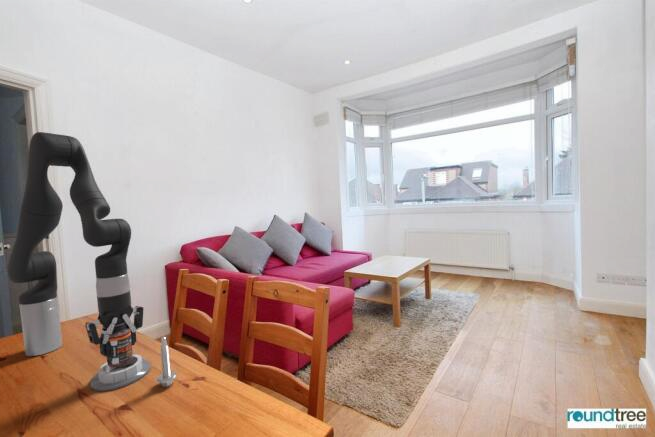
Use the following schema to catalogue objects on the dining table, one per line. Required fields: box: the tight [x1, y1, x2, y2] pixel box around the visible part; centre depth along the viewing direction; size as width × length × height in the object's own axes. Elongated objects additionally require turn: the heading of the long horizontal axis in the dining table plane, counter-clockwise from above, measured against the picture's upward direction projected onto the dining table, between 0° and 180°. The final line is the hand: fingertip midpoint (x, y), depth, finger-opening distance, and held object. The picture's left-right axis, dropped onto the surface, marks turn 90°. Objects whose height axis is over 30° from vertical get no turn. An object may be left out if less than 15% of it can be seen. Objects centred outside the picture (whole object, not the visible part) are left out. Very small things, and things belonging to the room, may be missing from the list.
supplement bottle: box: [106, 322, 134, 367], centre depth 84 cm, size 6×6×11 cm
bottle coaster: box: [89, 354, 152, 392], centre depth 85 cm, size 14×14×3 cm
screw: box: [155, 336, 178, 388], centre depth 79 cm, size 13×5×5 cm
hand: (119, 349), depth 84 cm, fingers closed on supplement bottle, 6 cm apart
